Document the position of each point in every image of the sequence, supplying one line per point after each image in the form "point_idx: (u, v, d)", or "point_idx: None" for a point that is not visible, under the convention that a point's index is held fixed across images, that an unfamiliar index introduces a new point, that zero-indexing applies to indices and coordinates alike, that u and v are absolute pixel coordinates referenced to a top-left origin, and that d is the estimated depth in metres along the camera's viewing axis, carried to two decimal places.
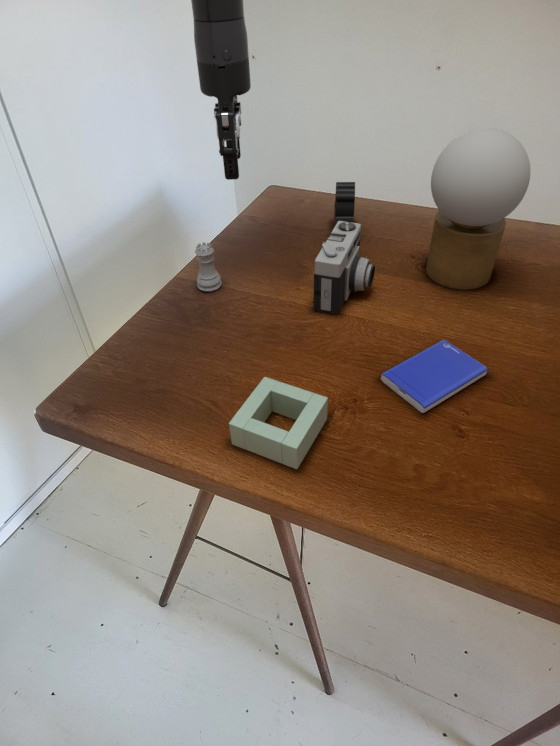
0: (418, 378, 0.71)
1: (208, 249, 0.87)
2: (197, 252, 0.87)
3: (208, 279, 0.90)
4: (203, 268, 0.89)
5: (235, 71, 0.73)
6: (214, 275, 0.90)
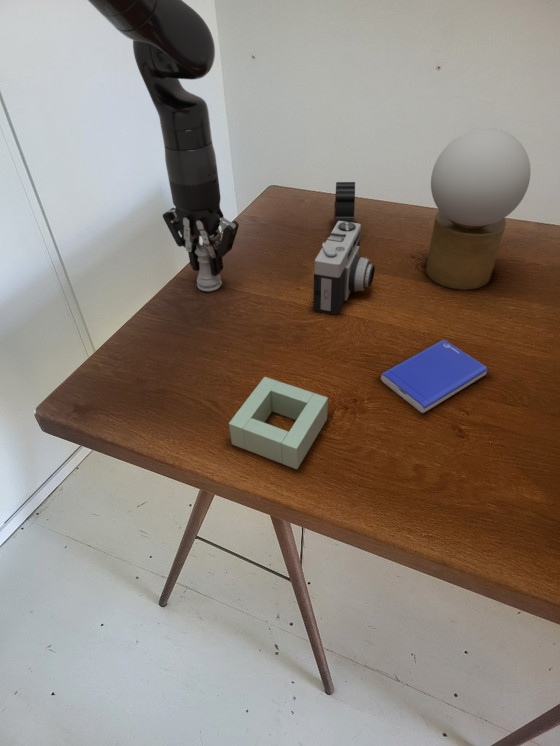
0: (418, 378, 0.71)
1: None
2: (197, 252, 0.87)
3: (208, 279, 0.90)
4: (203, 268, 0.89)
5: (218, 180, 0.80)
6: None
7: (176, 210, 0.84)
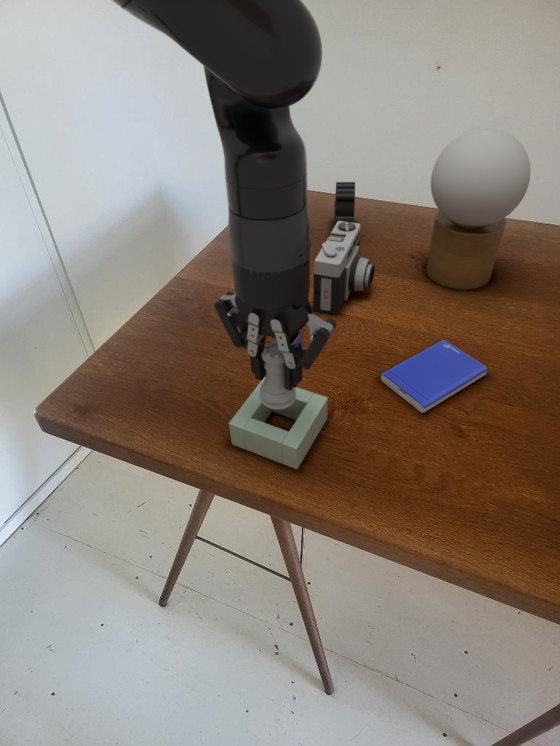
0: (418, 378, 0.71)
1: None
2: (266, 358, 0.57)
3: (279, 394, 0.60)
4: (273, 378, 0.59)
5: None
6: None
7: (237, 300, 0.54)
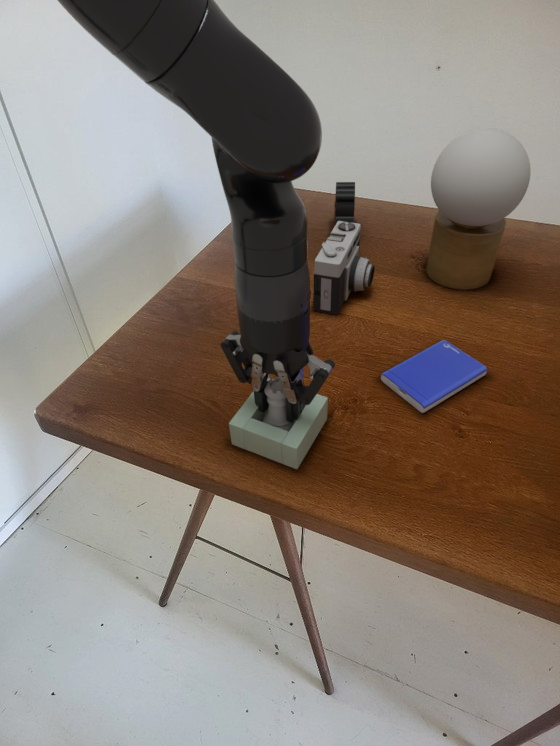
0: (418, 378, 0.71)
1: None
2: (269, 393, 0.61)
3: (281, 426, 0.64)
4: (275, 411, 0.63)
5: None
6: None
7: (242, 341, 0.58)
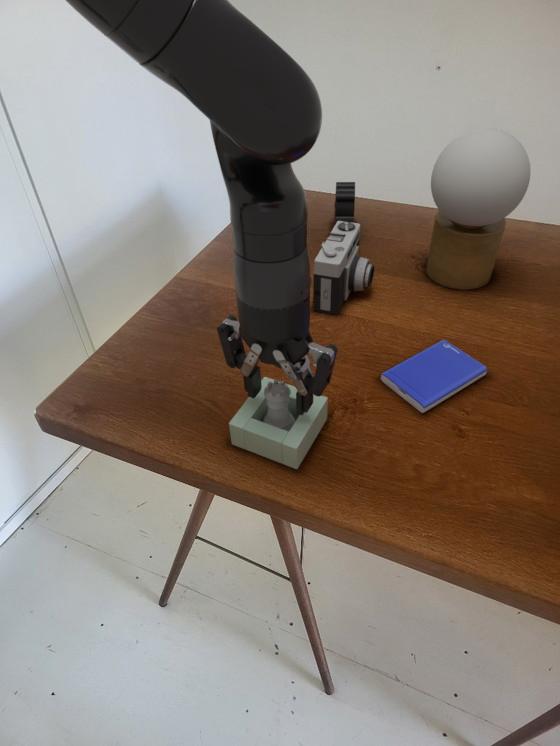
0: (418, 378, 0.71)
1: (284, 393, 0.61)
2: (268, 396, 0.61)
3: (280, 428, 0.64)
4: (274, 414, 0.63)
5: None
6: (288, 421, 0.65)
7: (242, 330, 0.57)
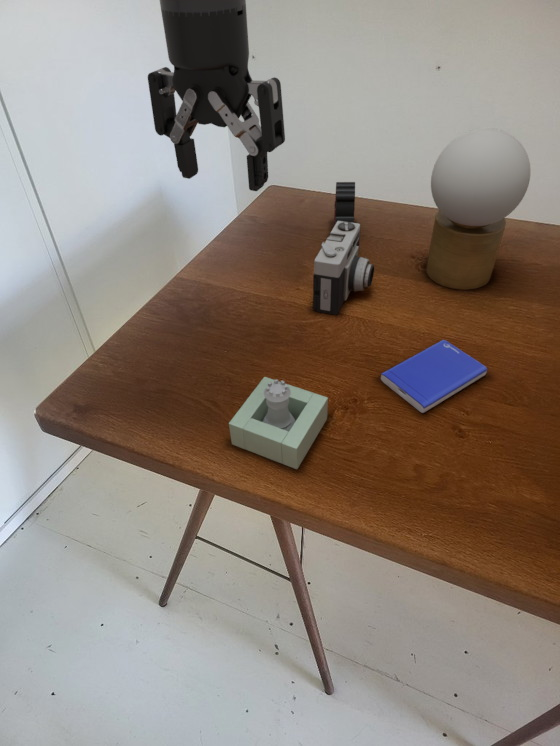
0: (418, 378, 0.71)
1: (284, 393, 0.61)
2: (268, 396, 0.61)
3: (280, 428, 0.64)
4: (274, 414, 0.63)
5: (246, 18, 0.47)
6: (288, 421, 0.65)
7: (176, 77, 0.50)
